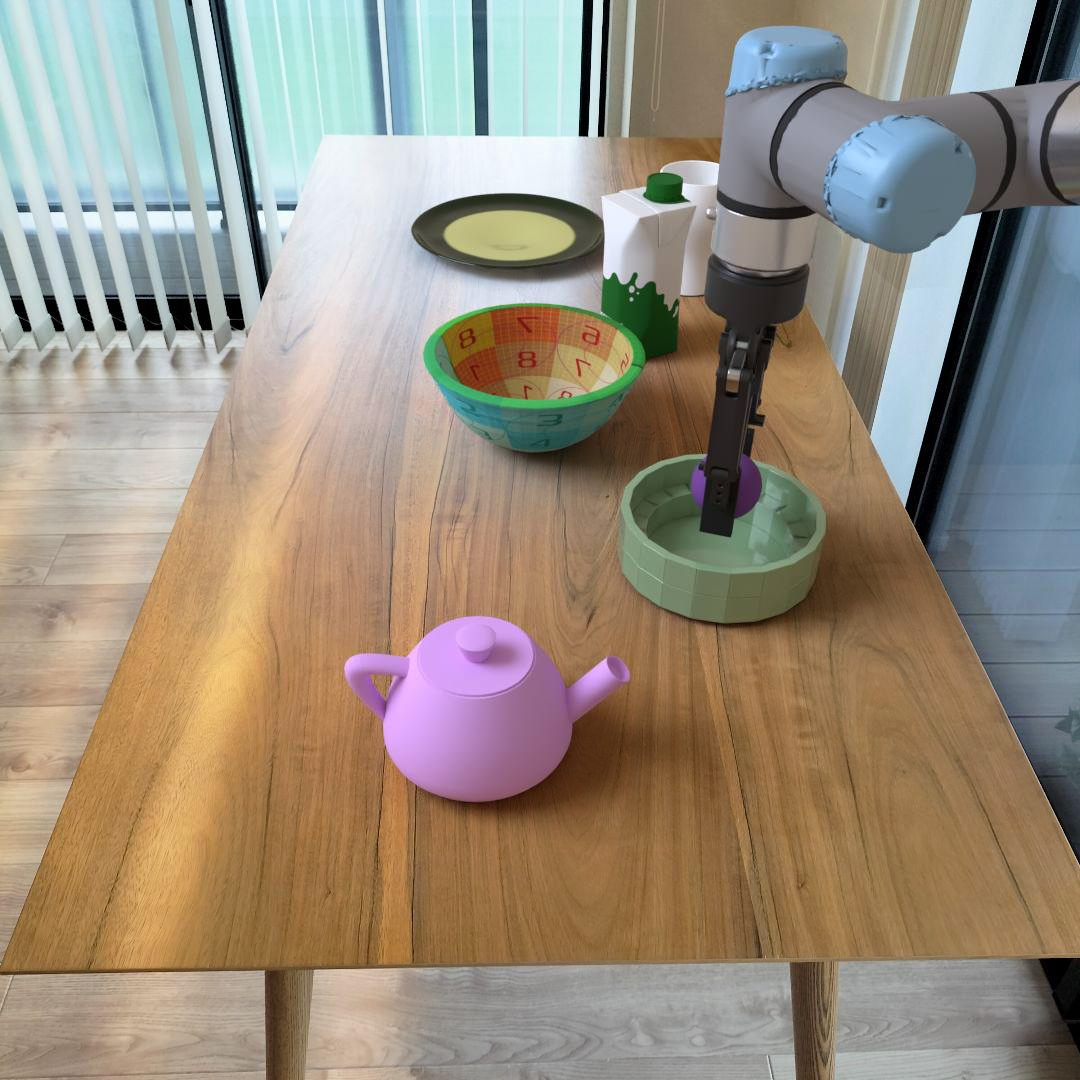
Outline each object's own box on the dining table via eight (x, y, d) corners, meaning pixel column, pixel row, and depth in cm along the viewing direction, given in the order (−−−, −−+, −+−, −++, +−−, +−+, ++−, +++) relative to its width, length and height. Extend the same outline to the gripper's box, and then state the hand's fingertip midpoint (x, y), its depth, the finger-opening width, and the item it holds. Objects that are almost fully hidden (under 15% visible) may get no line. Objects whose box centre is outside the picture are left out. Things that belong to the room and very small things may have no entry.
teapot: (633, 813, 75) (644, 707, 69) (344, 818, 74) (328, 711, 68) (615, 673, 86) (624, 570, 80) (363, 677, 85) (351, 572, 79)
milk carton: (688, 352, 130) (706, 187, 118) (626, 369, 126) (638, 201, 114) (646, 323, 136) (659, 163, 123) (585, 339, 132) (593, 176, 120)
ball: (771, 515, 94) (781, 457, 90) (726, 542, 91) (735, 484, 87) (718, 485, 98) (726, 428, 94) (673, 510, 94) (680, 453, 91)
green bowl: (853, 569, 97) (867, 515, 94) (726, 658, 88) (735, 602, 84) (705, 484, 107) (712, 433, 104) (577, 556, 98) (580, 502, 94)
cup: (732, 301, 141) (747, 187, 132) (651, 301, 141) (660, 186, 132) (720, 268, 150) (733, 159, 140) (643, 267, 149) (652, 158, 140)
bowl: (387, 460, 110) (380, 373, 104) (488, 366, 126) (486, 286, 120) (588, 518, 103) (593, 428, 97) (668, 410, 119) (676, 327, 113)
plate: (645, 259, 152) (646, 242, 150) (468, 299, 140) (467, 281, 139) (544, 196, 171) (544, 180, 169) (381, 227, 159) (380, 211, 158)
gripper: (731, 207, 88) (701, 447, 102) (683, 301, 74) (655, 565, 88) (825, 219, 86) (781, 462, 100) (794, 318, 72) (747, 585, 86)
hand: (722, 510), depth 94 cm, fingers closed on ball, 6 cm apart
